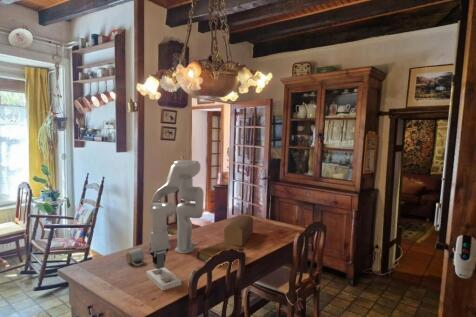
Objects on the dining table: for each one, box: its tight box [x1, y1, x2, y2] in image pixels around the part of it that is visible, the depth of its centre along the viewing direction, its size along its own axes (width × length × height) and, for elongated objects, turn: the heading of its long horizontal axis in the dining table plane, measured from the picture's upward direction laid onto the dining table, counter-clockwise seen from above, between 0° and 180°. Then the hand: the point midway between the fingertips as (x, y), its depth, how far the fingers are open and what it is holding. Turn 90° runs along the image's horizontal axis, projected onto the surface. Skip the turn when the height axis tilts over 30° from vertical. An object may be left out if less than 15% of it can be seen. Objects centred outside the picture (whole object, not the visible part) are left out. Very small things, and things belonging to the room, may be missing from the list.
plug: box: [153, 250, 165, 269], centre depth 162 cm, size 4×4×9 cm
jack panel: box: [145, 266, 182, 291], centre depth 158 cm, size 10×20×2 cm, turn 39°
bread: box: [223, 214, 254, 247], centre depth 227 cm, size 14×34×14 cm, turn 164°
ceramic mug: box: [125, 247, 145, 267], centre depth 178 cm, size 11×8×8 cm
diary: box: [196, 241, 245, 267], centre depth 190 cm, size 23×19×6 cm
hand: (159, 262), depth 162 cm, fingers closed on plug, 4 cm apart
